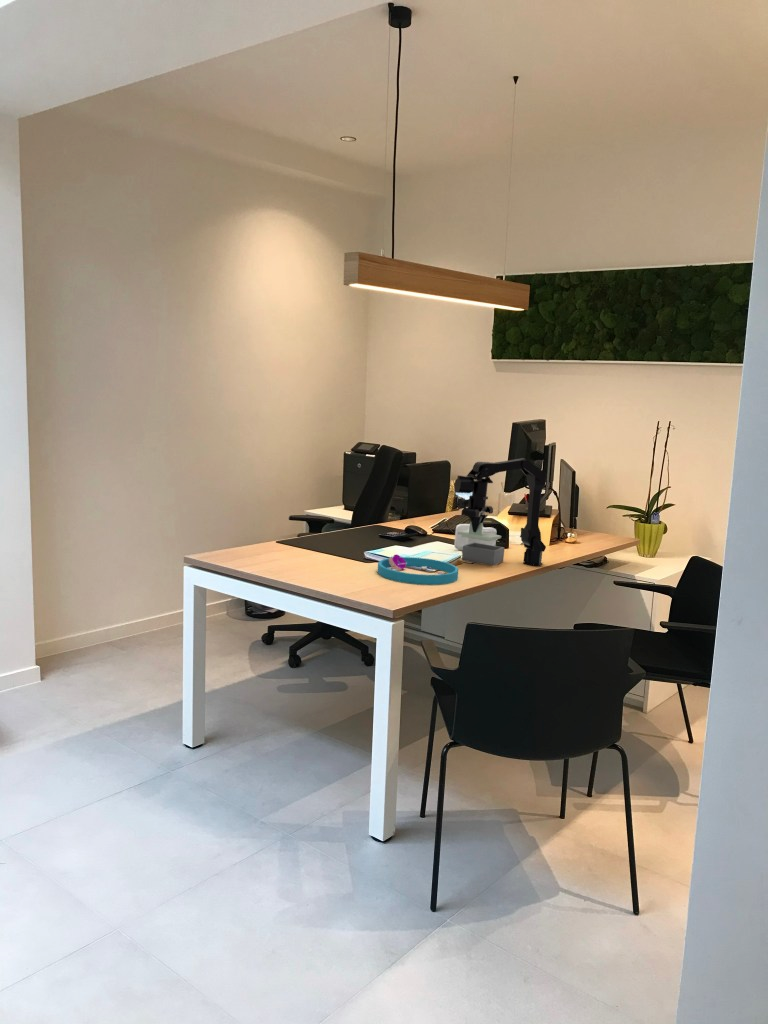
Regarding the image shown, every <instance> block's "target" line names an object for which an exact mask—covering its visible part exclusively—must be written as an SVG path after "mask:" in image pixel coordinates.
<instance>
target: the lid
mask: <svg viewBox="0 0 768 1024" xmlns="http://www.w3.org/2000/svg"><path fill="white" fill-rule="evenodd" d="M469 524H470V527H469V530H467V531H461V532H458V534H459V535H462V537H467V538H473V539H478V540H484V541H493V540H496V541H497V540H498V539H499V540H500V539H502V535H499V534H496V535H494V534H488V533H482V528H483V527H484V522H483V523H480V524H479V527H478V529H477V531H476V532H473V529H472V523H471V520H470V522H469Z"/></svg>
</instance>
